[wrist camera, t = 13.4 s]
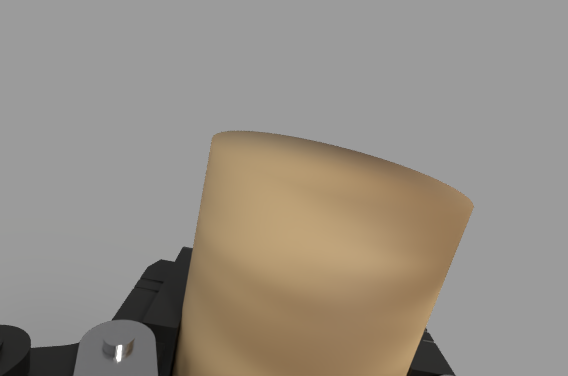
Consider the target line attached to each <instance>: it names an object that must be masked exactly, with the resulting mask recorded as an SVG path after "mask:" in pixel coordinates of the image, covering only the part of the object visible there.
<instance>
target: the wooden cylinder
mask: <svg viewBox="0 0 568 376" xmlns="http://www.w3.org/2000/svg"><path fill="white" fill-rule="evenodd" d="M473 207H474V206H473V203H472V202H471V201H470V199H469V198H467V197H466V196H465V195H464V194H462V193H461V192H459V191H457V190H456V189H454V188H452V187H451V186H449V185H447V184H445V183H442V182H441V181H439V180H437V179H434V178H432V177H430V176H427V175H425V174H422V173H420V172H418V171H415V170H412V169H410V168H407V167H404V166H401V165H399V164H395V163H393V162H390V161H387V160H383V159H381V158H377V157H374V156H371V155H367V154H364V153H361V152H357V151H353V150H350V149H346V148H342V147H338V146H334V145H329V144H326V143H321V142H316V141H312V140H307V139H302V138H297V137H291V136H286V135H279V134H272V133H263V132H253V131H227V132H221V133H218V134H216V135H214V136H213V138H212V142H211V148H210V153H209V161H208V165H207V171H206V176H205V182H204V188H203V193H202V199H201V205H200V211H199V216H198V222H197V228H196V233H195V239H194V245H193V251H192V256H191V262H190V268H189V274H188V279H187V285H186V291H185V296H184V302H183V308H182V318H181V324H180V330H179V335H178V341H177V347H176V352H175V358H174V364H173V369H172V375H171V376H406V375H407V372H408V370H409V367H410V365H411V362H412V360H413V357H414V355H415V352H416V350H417V347H418V345H419V342H420V340H421V337H422V335H423V332H424V330H425V327H426V325H427V322H428V320H429V317H430V315H431V312H432V310H433V307H434V305H435V302H436V300H437V297H438V295H439V292H440V290H441V287H442V285H443V282H444V280H445V277H446V275H447V272H448V270H449V267H450V265H451V262H452V260H453V257H454V255H455V252H456V250H457V247H458V245H459V242H460V240H461V237H462V235H463V232H464V230H465V228H466V225H467V223H468V220H469V217H470V215H471V212H472V210H473Z"/></svg>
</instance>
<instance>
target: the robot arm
mask: <svg viewBox="0 0 568 376" xmlns="http://www.w3.org/2000/svg"><path fill="white" fill-rule="evenodd" d="M192 251H193V248H188V247H183V248H182V250H181V251H180V253H179V255H178V257H177V259H176V261H175V262H172V261H167V260H162V259H161V260H159V261H157V262H156V263H154V264H152V265H150V266H149V267H147V269H146V270H145V272H144V273H143V275H142V276H141V278H140V280H139V281H138V282H137V284H136V285H135V287H134V289H133V290H132V291H131V293H130V294H129V295H128V297H127V299H126V300H125V301H124V303H123V304H122V306H121V308H120V309H119V310H118V312H117V313H116V315H115V316H114V318H113V319H112V321H109V322H106V323H102V324H100V325H98V326H96V327H94V328H92V329H91V330H89V331H88V332H87V333H86V334H85V335H84V336H83V338H82V339H81V341H80V342H79V343H76V344H71V345H65V346H52V347H38V348H31V340H30V337H29V335H28V334H27V333H26V332H25V331H24V330H22V329H20V328H18V327H14V326H9V325H0V376H171V375H172V369H173V364H174V358H175V352H176V347H177V341H178V335H179V330H180V324H181V318H182V308H183V302H184V296H185V291H186V285H187V279H188V274H189V268H190V262H191V256H192ZM406 376H455V374H454V372H453V371H452V369H451V368H450V366H449V364H448V363H447V361H446V360H445V358H444V356H443V355H442V353H441V352H440V350H439V348H438V347H437V345H436V344H435V343H434V340H433V339H432V337H431V336H430V334H429V333H427V329H426V327H425V330H424V332H423V335H422V337H421V340H420V342H419V345H418V347H417V350H416V352H415V355H414V357H413V360H412V362H411V365H410V367H409V370H408V372H407V375H406Z"/></svg>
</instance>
